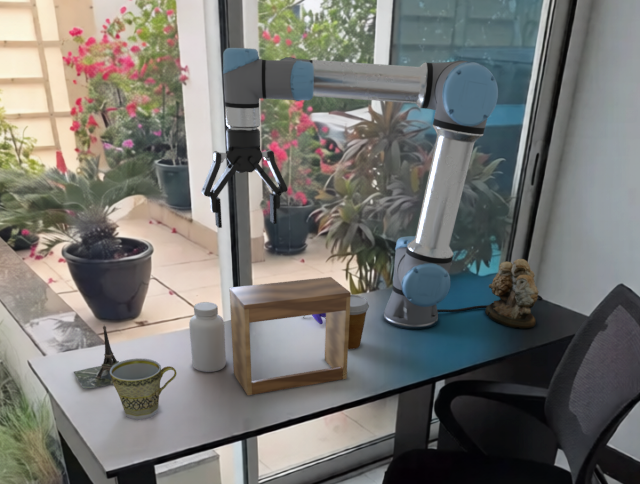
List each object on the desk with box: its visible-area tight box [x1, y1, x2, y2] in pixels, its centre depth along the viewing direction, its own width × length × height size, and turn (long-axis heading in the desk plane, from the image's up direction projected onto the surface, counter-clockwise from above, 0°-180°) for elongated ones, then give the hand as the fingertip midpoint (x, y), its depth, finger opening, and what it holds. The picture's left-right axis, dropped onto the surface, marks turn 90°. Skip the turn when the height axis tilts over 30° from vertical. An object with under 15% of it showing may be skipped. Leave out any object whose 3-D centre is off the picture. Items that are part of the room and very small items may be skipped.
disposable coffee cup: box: [348, 294, 370, 350], centre depth 166 cm, size 10×10×12 cm
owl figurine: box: [484, 258, 539, 330], centre depth 185 cm, size 18×12×17 cm, turn 30°
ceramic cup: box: [110, 358, 177, 421], centre depth 135 cm, size 13×10×10 cm
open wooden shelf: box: [228, 276, 352, 396], centre depth 147 cm, size 11×24×21 cm, turn 114°
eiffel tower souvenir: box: [73, 325, 120, 389], centre depth 147 cm, size 15×10×13 cm
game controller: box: [302, 313, 326, 325], centre depth 181 cm, size 10×8×10 cm
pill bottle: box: [188, 301, 227, 373], centre depth 153 cm, size 8×8×15 cm
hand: (246, 224), depth 158 cm, fingers open, 13 cm apart
